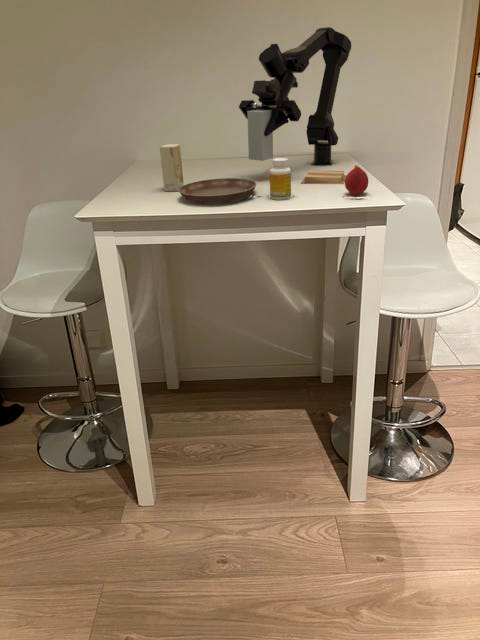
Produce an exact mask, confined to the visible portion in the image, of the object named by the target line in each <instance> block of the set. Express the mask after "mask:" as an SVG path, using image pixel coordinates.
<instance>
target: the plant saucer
mask: <svg viewBox="0 0 480 640" xmlns="http://www.w3.org/2000/svg"><path fill="white" fill-rule="evenodd" d="M256 187H257V182H255V181H254V180H251V179H245V178H235V177H234V178H233V177H228V178H212V179H204V180H197V181H195V182H194V181H193V182H189V183H187V184H184V186H182V187H180V188H179V191H178V192H179V194H180V195H181V196H182V197H183V199H185V200H187V202H190V203H192V204H198V205H207V206H208V205H211V206H212V205H226V204H227V205H228V204H232V203H237V201H238V202H241V201H242V200H243V201H244V200H245V199H247V198H249V196H250V195H251V194H252V193H253V191H254V190H255V188H256Z"/></svg>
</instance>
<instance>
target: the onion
mask: <svg viewBox="0 0 480 640" xmlns="http://www.w3.org/2000/svg"><path fill="white" fill-rule="evenodd" d="M346 175H347V176H346V178H345V182H344V187H345V189H346V190H347V191H348V193H349V194H351V195H352V196H353V197H354V198H357V197H358V196H360V195H362V194H363V193H364V192H365V191H366V190H367V188H368V186H369V177H368V175H367V173H366V171H364V170H363V169H362V168H361V167H360V166H359V164H354V168H353V169H351V170H350V171H349V172H348V173H347V174H346Z"/></svg>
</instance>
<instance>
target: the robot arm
mask: <svg viewBox="0 0 480 640" xmlns="http://www.w3.org/2000/svg"><path fill="white" fill-rule="evenodd" d="M351 50H352V42H351V40H350V38H349V37H348V36H347V35H346V34H344V33H341V32H339V31H336V30H335V29H334V28H332V27H330V26H329V27H319V28H317V29H316V30H315V32H314V33H312V34H311V35H310V36H309V37H308V38H306V39H305V40H304V41H303V42H302V43H301V44H300V45H298V46H297V47H293V48H289V49H288V50H285V51H283V52H282V51H281V49H280V46H279V44H278V43H271V44H270V46H269V47H266V48H265V49H264V50H263V51H262V52H260V54H259V56H258V61H259V63H260V65H261V66H262V67H263V69H264V71H265V72H266V74H267V76H268V77H269V78H271V79H270V80H254V82H253V86H252V89H251V93H252V94H253V95H255V96H257V97H258V102H259V103H261V104H257V103H256V101H254V100H253V99H244V100H241V101H240V104H239V105H238V108H239V110H240V112H241V113H242V114H243V116H244V117H245V118H246V120H248V116H247V111H252V110H258V109H260V110H272V115H271V118H270V120H269V123H268V125H267V127H266V129H265V132H264V135H265V136H268V135H269V134H271V133H272V132H273V133H274V132H275V131H276V130H278V129H279V128H281V127H282V126H284V125H285V124H288V123H289V122H299V121H300V119H301V116H302V111H301V109H300V107H299V106H298V104H297V102H296V100H295V99H290V98H289V94H290V93H291V90H292V88H293V89H294V88H296V89H297V88H299V83H298V81H297V77H295V75H294V74H301V73H304V71H305V70H306V69H307V68H308V66H309V65H310V59H312V58H313V57H314V56H315V55H316V54H317V53H319V51H322V58H323V61H324V63H325V66H324V71H323V77H322V82H321V87H320V92H319V96H318V97H319V98H318V102H317V107H316V111H315V112H314V113H313V114H310V115H309V116H308V121H307V126H306V138H307V142H308V143H307V144H308V145H309V146H314V147H313V149H314V151H313V161H312V163H311V165H312V166H314V165H315V166H316V165H319V166H320V165H321V166H323V165H325V166H328V165H329V166H331V165H332V164H333V161H334V160H333V159H332V146H337V145H338V143H339V142H338V141H339V136H338V134H337V132H336V131H335V120H334V118H333V115H332V112H333V108H334V102H335V98H336V93H337V87H338V84H339V83H338V82H339V78H340V74H341V68H342V67H343V66H344V65H345V64H346V62H347V61H348V59H349V56H350V52H351Z"/></svg>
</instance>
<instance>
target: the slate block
mask: <svg viewBox="0 0 480 640" xmlns="http://www.w3.org/2000/svg"><path fill="white" fill-rule="evenodd" d="M271 115H272V110H260V109H258V110H252V111H247V116H248V119H247V145H248V146H247V147H248V159H249V160H253V161H267V160H270V159H274V136H273V135H274V134H273V133H274V131H273V132H272V133H271V134H269V135H268V136H265V135H264V132H265V129H266V127H267V125H268V123H269V120H270V118H271Z"/></svg>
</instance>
